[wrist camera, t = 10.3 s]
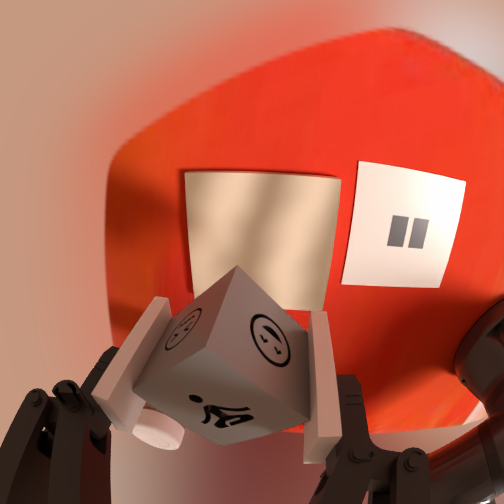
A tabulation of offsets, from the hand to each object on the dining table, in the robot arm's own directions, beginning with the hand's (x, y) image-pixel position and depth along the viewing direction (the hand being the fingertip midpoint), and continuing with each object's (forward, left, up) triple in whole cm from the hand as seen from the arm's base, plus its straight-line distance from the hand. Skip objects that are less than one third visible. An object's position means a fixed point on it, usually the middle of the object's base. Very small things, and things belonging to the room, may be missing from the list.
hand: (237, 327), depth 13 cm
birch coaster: (0, 0, -11) cm, 11 cm away
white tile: (-13, -2, -11) cm, 17 cm away
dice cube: (0, 0, 0) cm, 0 cm away
